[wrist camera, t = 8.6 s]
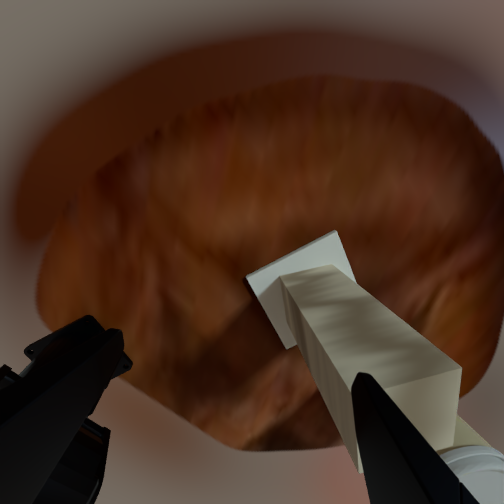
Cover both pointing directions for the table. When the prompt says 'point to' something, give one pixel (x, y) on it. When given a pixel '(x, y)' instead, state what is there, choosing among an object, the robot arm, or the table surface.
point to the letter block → (368, 355)
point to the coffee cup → (475, 464)
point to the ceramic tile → (301, 259)
